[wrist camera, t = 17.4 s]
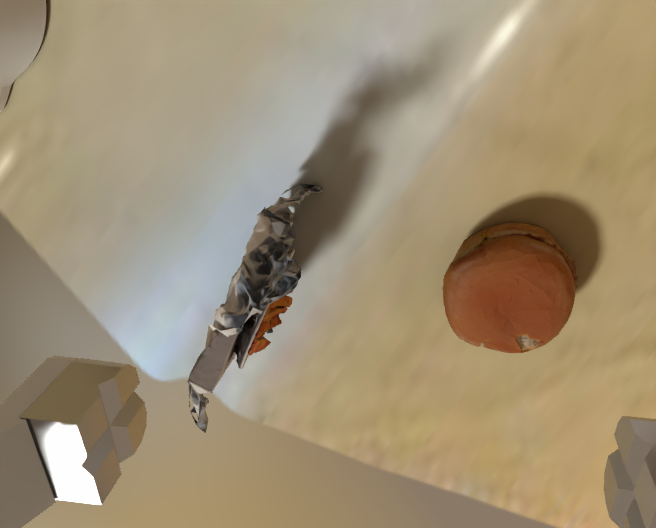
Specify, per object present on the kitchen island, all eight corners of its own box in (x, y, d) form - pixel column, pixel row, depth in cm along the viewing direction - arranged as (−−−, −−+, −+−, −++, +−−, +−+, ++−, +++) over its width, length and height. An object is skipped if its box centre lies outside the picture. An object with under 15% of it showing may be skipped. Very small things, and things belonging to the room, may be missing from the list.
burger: (513, 196, 41) (519, 222, 37) (598, 277, 43) (612, 311, 39) (415, 277, 46) (412, 308, 42) (496, 348, 48) (500, 385, 44)
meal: (278, 335, 51) (229, 443, 40) (234, 316, 51) (172, 419, 40) (340, 192, 44) (302, 276, 32) (289, 169, 44) (232, 245, 32)
